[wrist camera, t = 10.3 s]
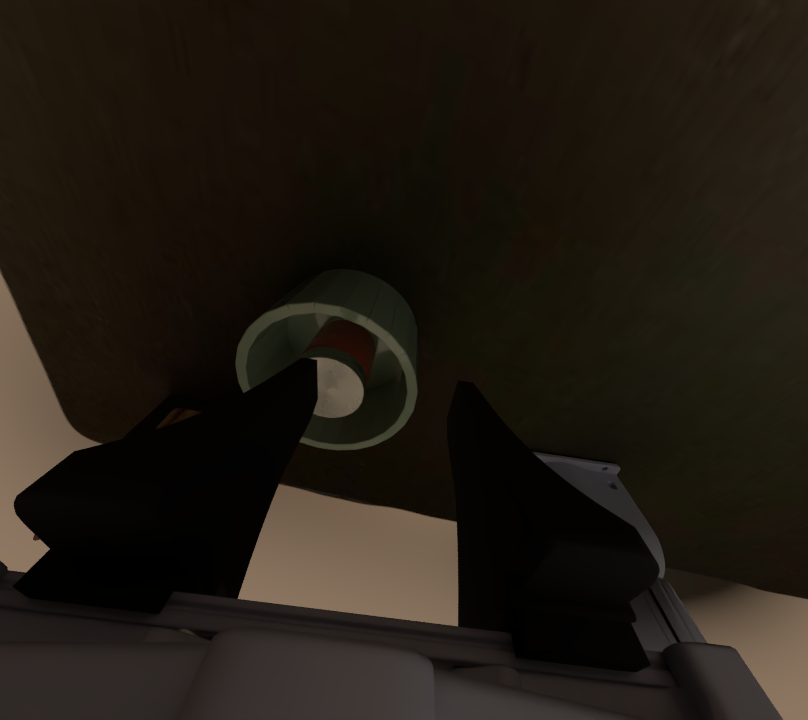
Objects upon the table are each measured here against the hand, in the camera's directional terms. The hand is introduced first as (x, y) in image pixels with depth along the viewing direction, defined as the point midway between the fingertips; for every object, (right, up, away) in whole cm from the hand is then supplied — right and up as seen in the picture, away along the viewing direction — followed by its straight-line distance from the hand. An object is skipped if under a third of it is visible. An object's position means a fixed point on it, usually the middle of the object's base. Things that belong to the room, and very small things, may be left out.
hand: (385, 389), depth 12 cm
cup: (-3, +3, +10) cm, 11 cm away
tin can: (-3, +3, +10) cm, 11 cm away
